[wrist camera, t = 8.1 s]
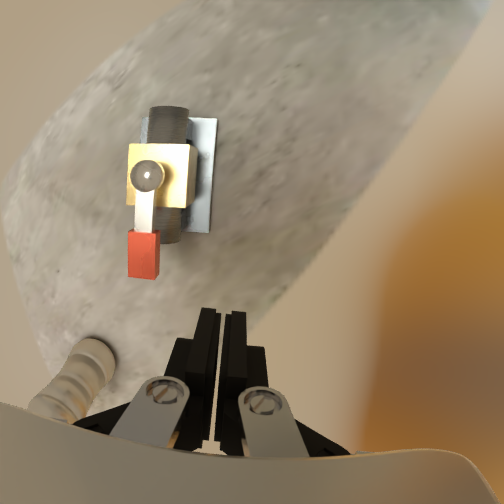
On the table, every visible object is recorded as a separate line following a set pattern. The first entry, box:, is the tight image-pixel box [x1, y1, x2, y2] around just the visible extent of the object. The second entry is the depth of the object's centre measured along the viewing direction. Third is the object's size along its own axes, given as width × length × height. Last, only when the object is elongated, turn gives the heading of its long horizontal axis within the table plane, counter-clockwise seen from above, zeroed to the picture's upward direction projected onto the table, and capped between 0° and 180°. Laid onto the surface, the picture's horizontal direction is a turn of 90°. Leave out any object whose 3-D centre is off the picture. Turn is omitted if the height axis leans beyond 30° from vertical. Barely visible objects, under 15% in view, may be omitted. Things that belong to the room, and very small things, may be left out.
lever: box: [128, 160, 165, 280], centre depth 23 cm, size 9×2×2 cm, turn 174°
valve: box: [126, 106, 218, 244], centre depth 28 cm, size 12×8×10 cm, turn 175°
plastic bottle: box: [27, 338, 115, 424], centre depth 28 cm, size 6×7×20 cm
